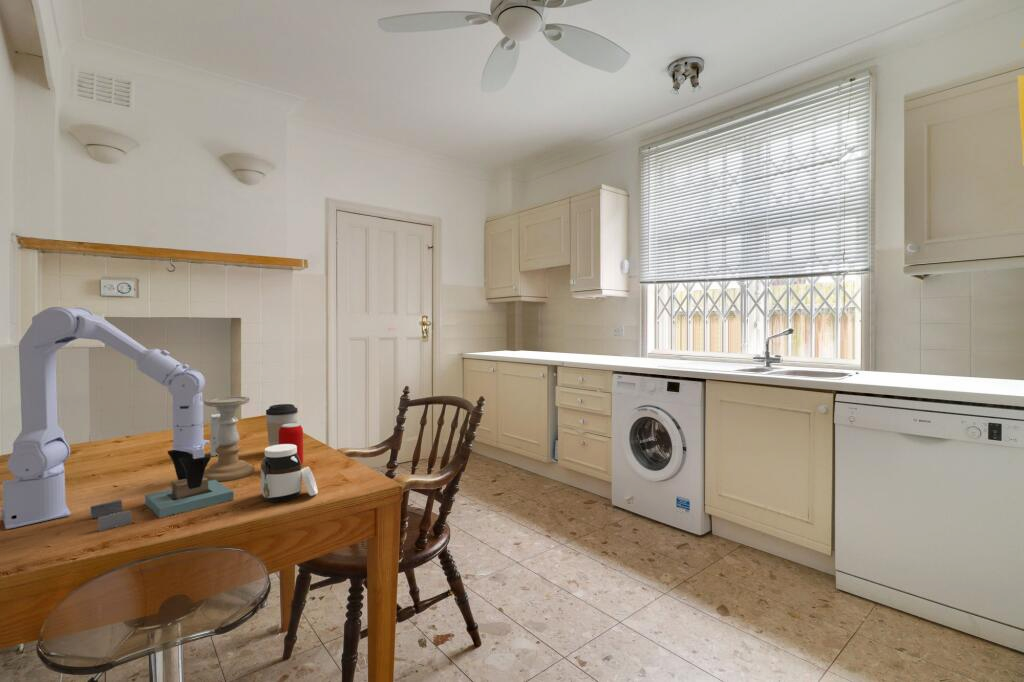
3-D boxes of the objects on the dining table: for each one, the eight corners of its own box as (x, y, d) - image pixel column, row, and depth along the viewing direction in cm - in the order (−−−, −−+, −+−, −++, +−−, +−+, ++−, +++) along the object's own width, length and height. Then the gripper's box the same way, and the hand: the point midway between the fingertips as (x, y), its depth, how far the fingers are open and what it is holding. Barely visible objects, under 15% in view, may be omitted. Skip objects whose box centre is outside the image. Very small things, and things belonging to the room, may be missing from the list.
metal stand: (99, 531, 94) (99, 518, 94) (90, 517, 100) (90, 506, 100) (131, 523, 98) (131, 511, 98) (120, 510, 104) (120, 499, 104)
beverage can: (280, 464, 138) (280, 423, 137) (304, 463, 140) (303, 421, 139) (277, 471, 132) (276, 427, 132) (302, 469, 134) (301, 426, 133)
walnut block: (208, 500, 111) (208, 479, 111) (177, 508, 106) (177, 485, 106) (202, 496, 113) (202, 475, 113) (172, 503, 109) (171, 481, 109)
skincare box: (210, 456, 145) (210, 416, 145) (210, 453, 149) (209, 414, 149) (234, 453, 149) (233, 414, 148) (233, 450, 152) (232, 412, 152)
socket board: (160, 518, 100) (159, 508, 100) (145, 503, 108) (145, 494, 108) (233, 499, 111) (233, 491, 111) (215, 487, 119) (215, 479, 119)
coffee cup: (266, 450, 153) (266, 403, 152) (298, 447, 157) (297, 401, 156) (265, 457, 145) (264, 408, 144) (298, 454, 149) (298, 405, 148)
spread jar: (256, 495, 114) (255, 446, 114) (305, 484, 122) (304, 438, 122) (274, 509, 106) (273, 457, 105) (325, 496, 114) (325, 447, 113)
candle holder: (257, 465, 137) (256, 394, 136) (250, 479, 126) (249, 401, 125) (207, 469, 133) (206, 396, 132) (195, 484, 121) (193, 404, 121)
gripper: (219, 426, 107) (220, 486, 108) (198, 417, 117) (199, 472, 117) (182, 431, 102) (183, 495, 102) (163, 421, 111) (164, 479, 112)
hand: (189, 483), depth 110 cm, fingers open, 7 cm apart
